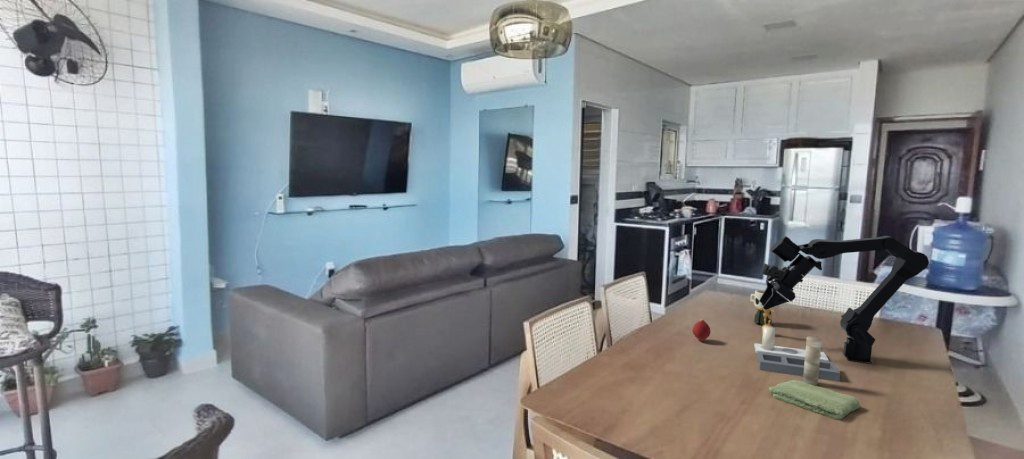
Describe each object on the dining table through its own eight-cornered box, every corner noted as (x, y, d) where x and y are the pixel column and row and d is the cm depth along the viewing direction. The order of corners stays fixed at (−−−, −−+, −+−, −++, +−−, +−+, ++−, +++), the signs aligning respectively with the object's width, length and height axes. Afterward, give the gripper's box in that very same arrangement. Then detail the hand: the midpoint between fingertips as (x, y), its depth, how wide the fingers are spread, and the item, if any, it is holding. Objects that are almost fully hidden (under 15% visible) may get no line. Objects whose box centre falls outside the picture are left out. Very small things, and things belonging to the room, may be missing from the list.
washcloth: (789, 385, 138) (789, 374, 138) (861, 410, 124) (863, 397, 124) (765, 396, 131) (766, 385, 130) (840, 424, 117) (841, 411, 116)
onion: (707, 338, 176) (708, 316, 175) (711, 344, 170) (713, 321, 169) (690, 337, 176) (691, 316, 175) (694, 343, 170) (695, 320, 169)
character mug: (744, 322, 196) (746, 290, 195) (753, 319, 201) (755, 288, 199) (772, 329, 188) (775, 295, 186) (781, 325, 192) (783, 293, 191)
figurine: (781, 336, 179) (784, 304, 178) (775, 340, 175) (778, 307, 174) (757, 330, 185) (759, 299, 184) (751, 334, 181) (753, 302, 180)
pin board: (832, 369, 149) (833, 361, 149) (839, 381, 140) (840, 372, 140) (757, 359, 156) (758, 351, 156) (759, 369, 148) (760, 361, 148)
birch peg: (816, 381, 140) (820, 337, 138) (818, 386, 137) (822, 341, 135) (801, 379, 141) (805, 335, 140) (803, 384, 138) (807, 339, 136)
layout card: (823, 355, 161) (825, 331, 160) (828, 363, 154) (830, 338, 153) (754, 346, 169) (756, 323, 168) (756, 353, 162) (757, 329, 161)
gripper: (771, 251, 172) (739, 283, 176) (780, 259, 154) (745, 295, 159) (798, 272, 169) (765, 304, 174) (811, 283, 152) (774, 319, 156)
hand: (762, 305), depth 166 cm, fingers open, 9 cm apart
